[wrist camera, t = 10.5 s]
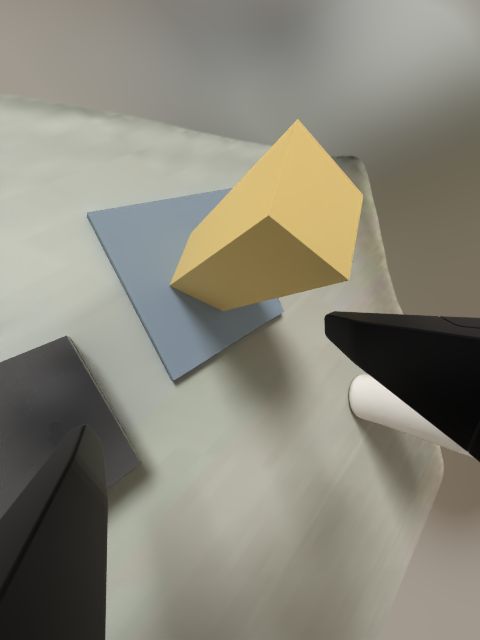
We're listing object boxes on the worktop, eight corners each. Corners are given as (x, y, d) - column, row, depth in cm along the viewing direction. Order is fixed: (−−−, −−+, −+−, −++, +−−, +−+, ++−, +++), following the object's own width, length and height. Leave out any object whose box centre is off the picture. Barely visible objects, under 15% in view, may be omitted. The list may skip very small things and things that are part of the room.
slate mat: (279, 312, 23) (283, 311, 23) (171, 379, 17) (173, 380, 16) (230, 191, 21) (233, 187, 21) (87, 217, 15) (87, 212, 14)
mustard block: (222, 311, 19) (348, 280, 10) (169, 285, 17) (268, 215, 8) (238, 262, 20) (363, 195, 11) (190, 233, 18) (297, 119, 9)
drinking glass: (335, 388, 27) (551, 426, 14) (362, 357, 31) (555, 366, 18) (355, 436, 28) (569, 509, 16) (379, 401, 32) (569, 437, 19)
